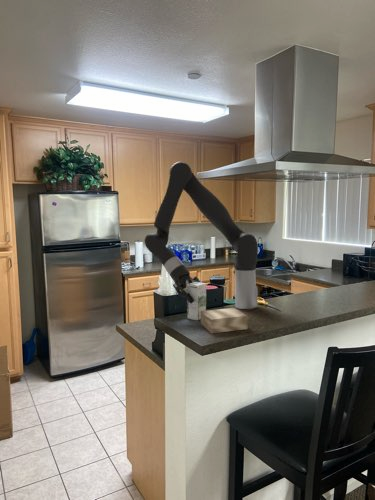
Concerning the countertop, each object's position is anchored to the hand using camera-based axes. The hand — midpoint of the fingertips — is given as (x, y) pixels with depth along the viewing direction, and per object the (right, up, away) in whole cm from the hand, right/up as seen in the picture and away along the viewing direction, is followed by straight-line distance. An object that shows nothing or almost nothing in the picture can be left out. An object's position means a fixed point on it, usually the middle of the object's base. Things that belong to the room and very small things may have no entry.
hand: (199, 300), depth 147 cm
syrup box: (-1, -8, +2) cm, 8 cm away
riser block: (+9, -9, -10) cm, 16 cm away
